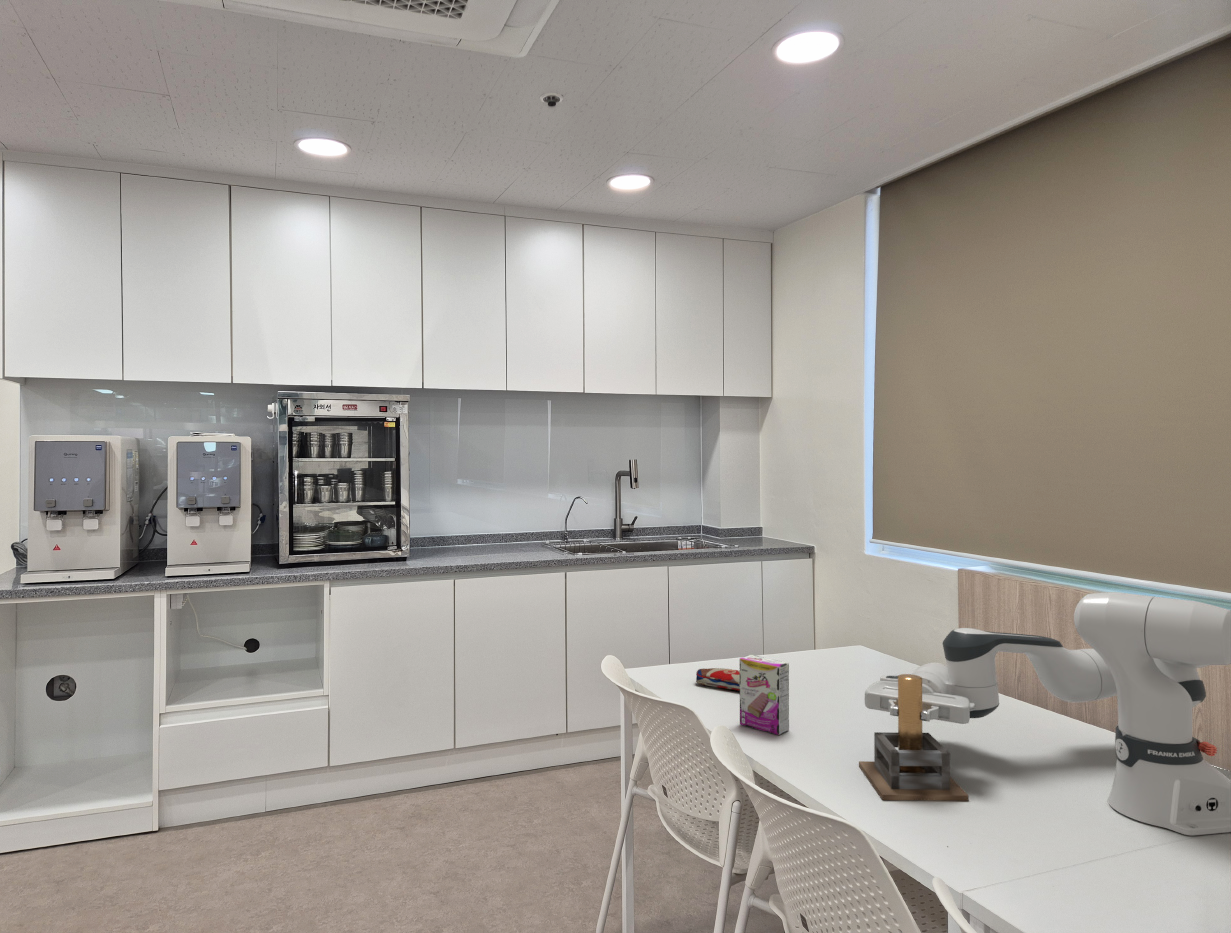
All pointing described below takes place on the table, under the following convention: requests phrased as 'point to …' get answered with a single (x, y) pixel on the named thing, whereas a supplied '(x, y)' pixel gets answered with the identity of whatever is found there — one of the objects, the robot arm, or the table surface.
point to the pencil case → (719, 678)
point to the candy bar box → (764, 694)
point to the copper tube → (910, 716)
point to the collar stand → (911, 785)
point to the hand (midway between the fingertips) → (909, 714)
